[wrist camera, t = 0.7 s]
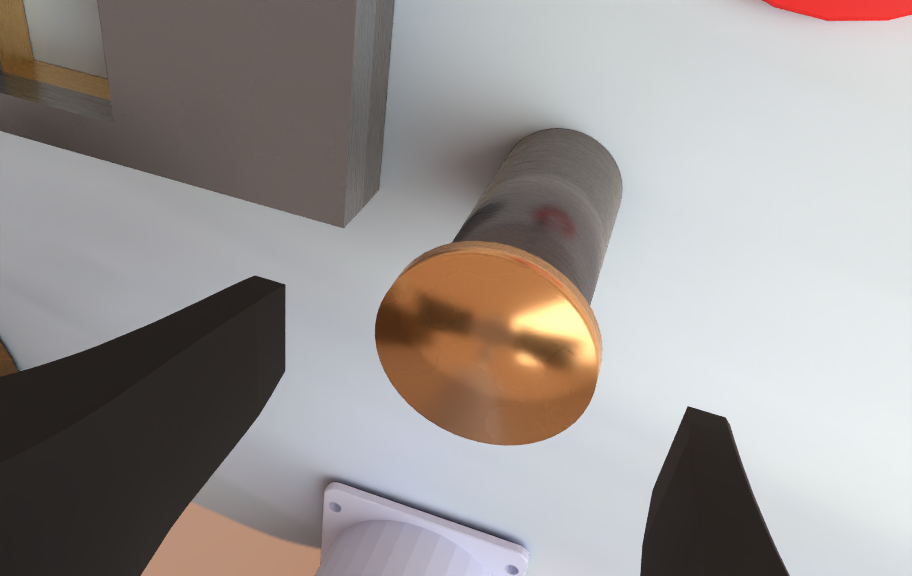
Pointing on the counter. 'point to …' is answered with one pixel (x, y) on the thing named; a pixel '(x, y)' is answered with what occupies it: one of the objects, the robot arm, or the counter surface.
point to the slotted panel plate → (220, 97)
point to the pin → (509, 299)
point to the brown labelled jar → (6, 362)
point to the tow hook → (847, 9)
